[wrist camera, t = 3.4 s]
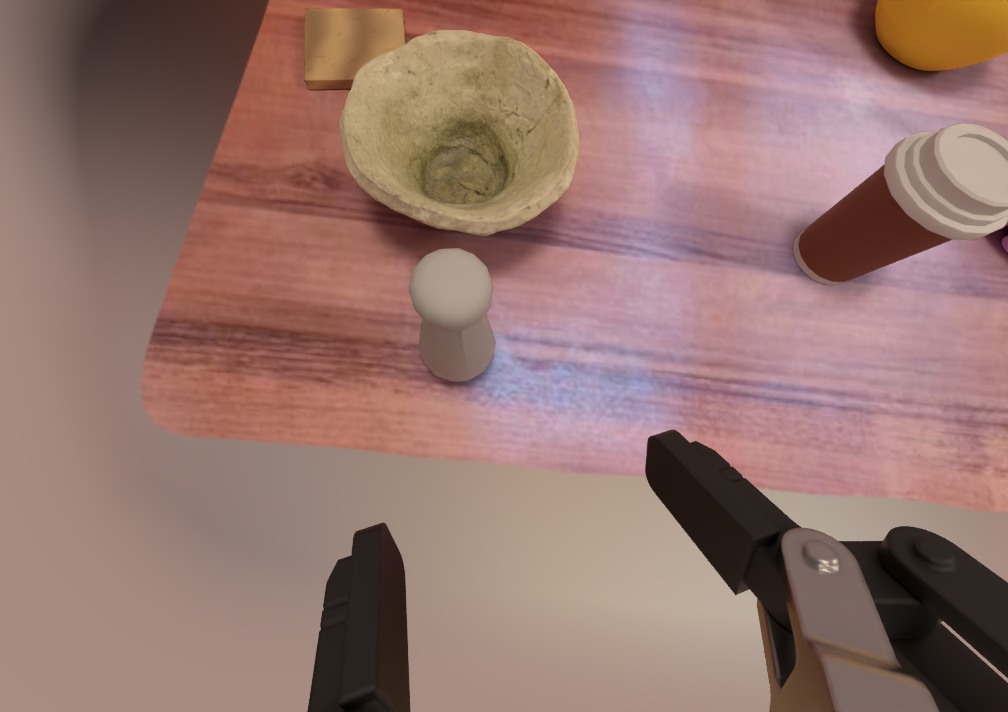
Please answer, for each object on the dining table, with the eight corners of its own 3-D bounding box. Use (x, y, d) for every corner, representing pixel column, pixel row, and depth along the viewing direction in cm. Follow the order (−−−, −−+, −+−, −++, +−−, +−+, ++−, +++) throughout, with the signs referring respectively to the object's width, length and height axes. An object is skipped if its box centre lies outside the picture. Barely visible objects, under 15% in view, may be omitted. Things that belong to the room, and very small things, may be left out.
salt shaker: (487, 393, 30) (499, 344, 17) (417, 381, 29) (377, 323, 17) (498, 326, 31) (515, 238, 19) (431, 315, 31) (405, 218, 19)
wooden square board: (308, 90, 37) (303, 80, 36) (308, 18, 39) (304, 7, 38) (410, 88, 38) (408, 78, 37) (403, 19, 40) (402, 8, 39)
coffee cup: (877, 247, 37) (1058, 153, 26) (852, 315, 35) (1039, 243, 23) (797, 202, 38) (938, 90, 27) (766, 264, 36) (907, 171, 24)
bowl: (537, 213, 40) (576, 261, 28) (364, 198, 37) (327, 245, 25) (562, 50, 32) (631, 21, 20) (347, 14, 29) (281, -45, 17)
